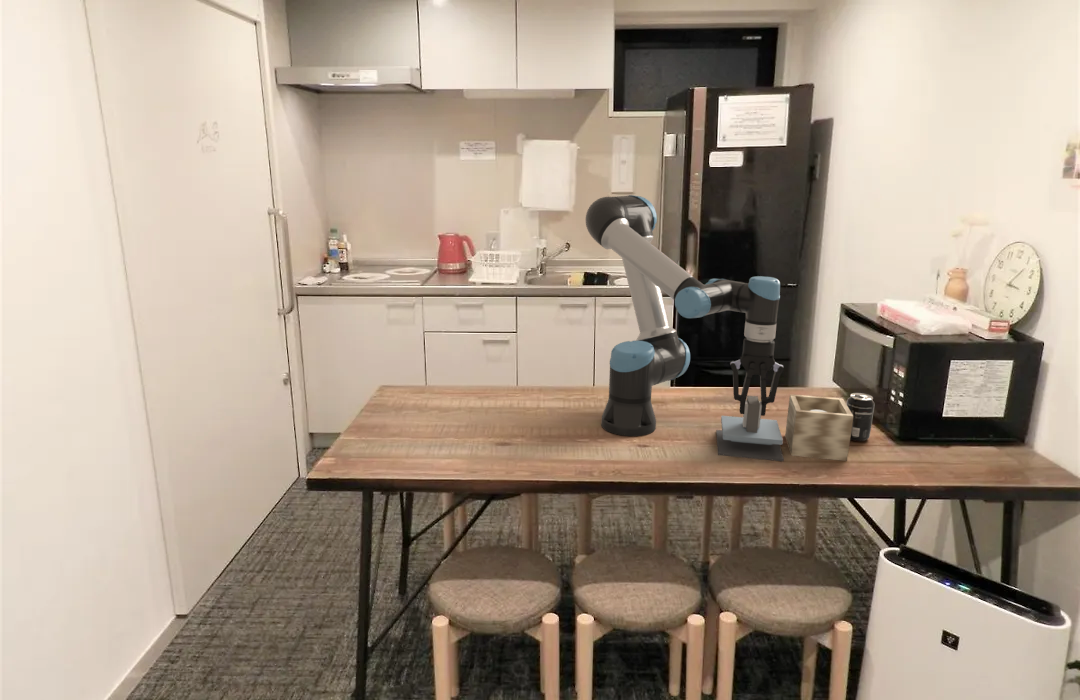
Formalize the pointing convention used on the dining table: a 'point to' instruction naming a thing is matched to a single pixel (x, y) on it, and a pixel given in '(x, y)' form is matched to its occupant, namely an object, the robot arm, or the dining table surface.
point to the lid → (751, 427)
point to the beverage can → (861, 415)
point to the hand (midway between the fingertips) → (750, 426)
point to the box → (818, 427)
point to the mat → (748, 449)
